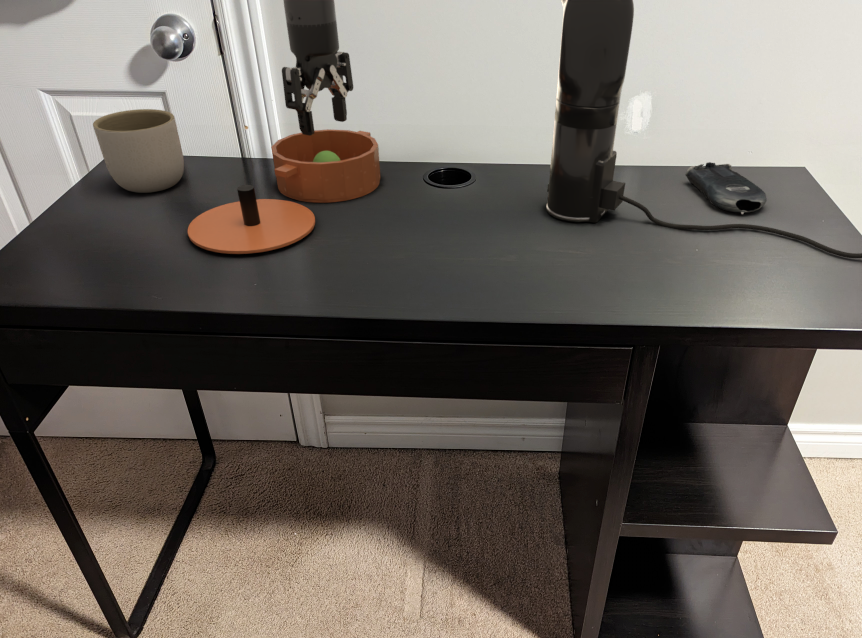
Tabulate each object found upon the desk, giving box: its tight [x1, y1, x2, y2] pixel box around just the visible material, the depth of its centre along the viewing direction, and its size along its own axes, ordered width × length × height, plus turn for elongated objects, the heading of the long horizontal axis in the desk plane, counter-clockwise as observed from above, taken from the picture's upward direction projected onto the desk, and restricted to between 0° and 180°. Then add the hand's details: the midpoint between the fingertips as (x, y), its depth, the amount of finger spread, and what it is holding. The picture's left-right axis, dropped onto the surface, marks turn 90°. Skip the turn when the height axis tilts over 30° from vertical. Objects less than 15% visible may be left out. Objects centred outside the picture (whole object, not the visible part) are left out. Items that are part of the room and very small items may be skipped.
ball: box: [313, 151, 341, 162], centre depth 117 cm, size 5×5×5 cm
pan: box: [271, 128, 381, 204], centre depth 117 cm, size 18×23×6 cm
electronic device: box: [684, 161, 767, 215], centre depth 114 cm, size 9×6×15 cm
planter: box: [92, 108, 185, 194], centre depth 115 cm, size 12×12×11 cm
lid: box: [187, 184, 316, 255], centre depth 102 cm, size 19×19×7 cm
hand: (324, 127), depth 113 cm, fingers open, 8 cm apart
